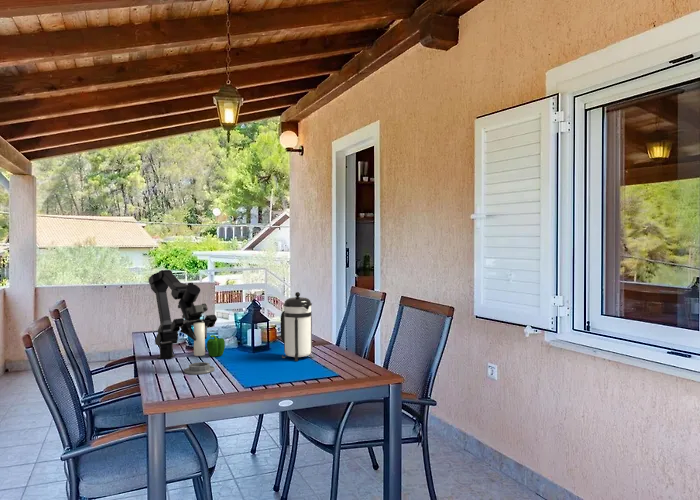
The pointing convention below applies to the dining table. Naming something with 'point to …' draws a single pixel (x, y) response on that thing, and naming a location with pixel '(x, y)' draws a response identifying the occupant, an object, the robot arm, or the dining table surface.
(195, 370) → the holder
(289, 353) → the coffee press
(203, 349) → the candle
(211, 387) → the dining table surface
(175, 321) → the robot arm
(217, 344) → the bell pepper
